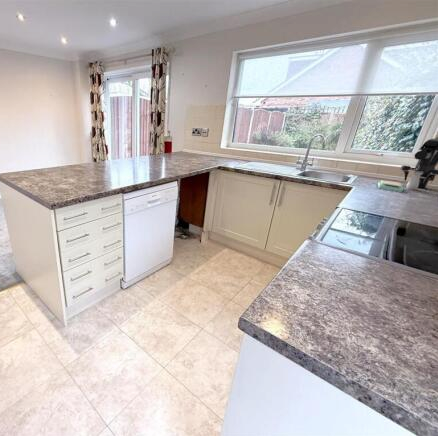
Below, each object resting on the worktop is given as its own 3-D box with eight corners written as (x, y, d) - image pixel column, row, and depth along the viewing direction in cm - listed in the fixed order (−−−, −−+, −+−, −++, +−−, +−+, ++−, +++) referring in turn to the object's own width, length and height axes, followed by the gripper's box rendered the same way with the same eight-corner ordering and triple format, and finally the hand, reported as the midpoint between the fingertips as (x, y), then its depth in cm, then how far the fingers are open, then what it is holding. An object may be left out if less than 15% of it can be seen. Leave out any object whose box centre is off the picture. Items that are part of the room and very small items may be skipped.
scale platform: (380, 181, 180) (381, 180, 179) (399, 184, 174) (399, 182, 174) (381, 184, 172) (382, 183, 171) (401, 187, 166) (401, 186, 166)
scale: (377, 184, 182) (379, 180, 180) (399, 187, 175) (401, 183, 174) (378, 188, 171) (380, 184, 170) (401, 192, 165) (404, 187, 163)
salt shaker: (418, 190, 170) (427, 172, 164) (408, 190, 171) (417, 171, 165) (412, 188, 175) (421, 170, 169) (402, 187, 176) (411, 169, 171)
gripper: (408, 158, 164) (397, 181, 170) (448, 163, 153) (435, 187, 159) (405, 157, 172) (395, 178, 178) (444, 161, 162) (431, 184, 168)
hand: (413, 182), depth 171 cm, fingers open, 9 cm apart
